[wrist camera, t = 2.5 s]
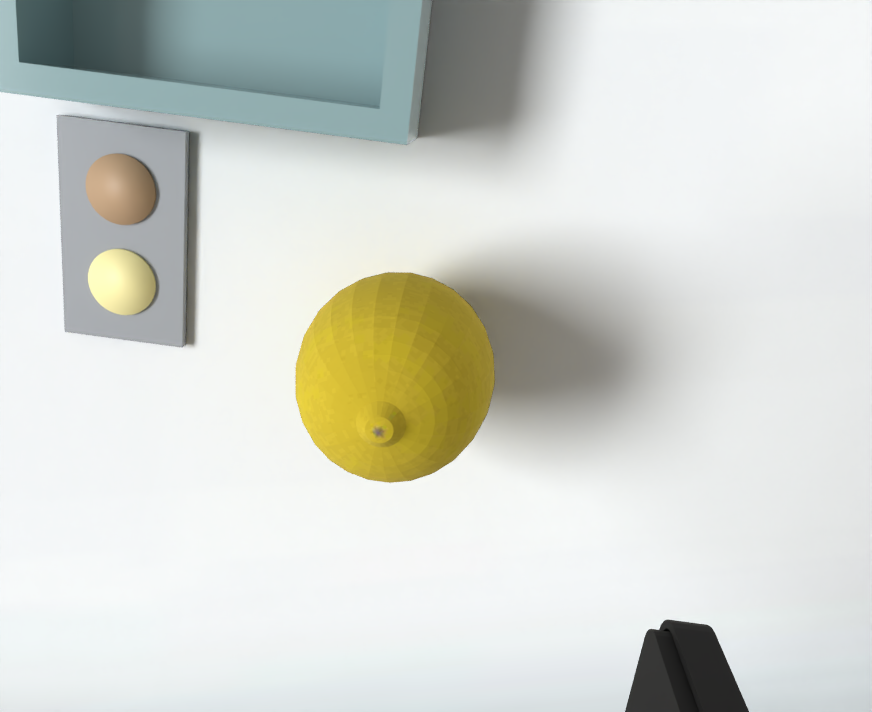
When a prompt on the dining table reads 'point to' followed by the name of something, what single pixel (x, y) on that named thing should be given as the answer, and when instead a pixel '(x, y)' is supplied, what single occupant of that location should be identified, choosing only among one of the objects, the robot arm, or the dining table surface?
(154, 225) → the pair card
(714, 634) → the robot arm
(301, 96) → the trough
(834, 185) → the dining table surface
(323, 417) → the lemon
